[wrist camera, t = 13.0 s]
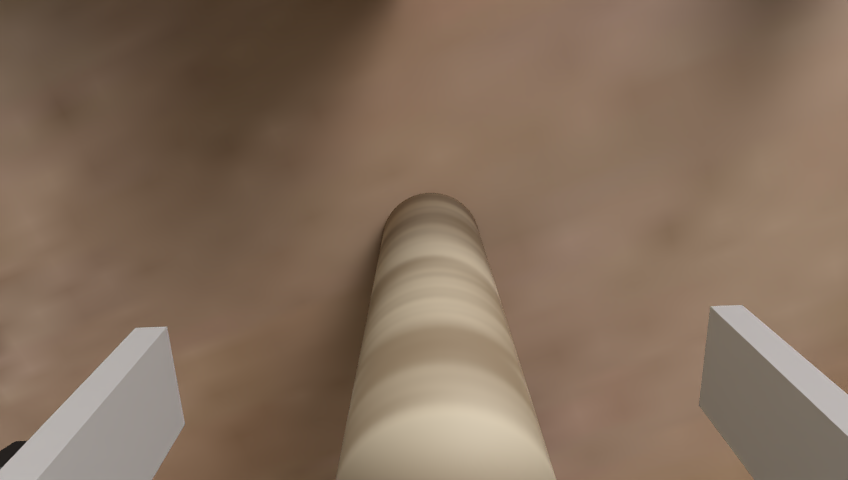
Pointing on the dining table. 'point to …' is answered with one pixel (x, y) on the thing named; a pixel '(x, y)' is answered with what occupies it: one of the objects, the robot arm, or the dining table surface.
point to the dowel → (438, 361)
